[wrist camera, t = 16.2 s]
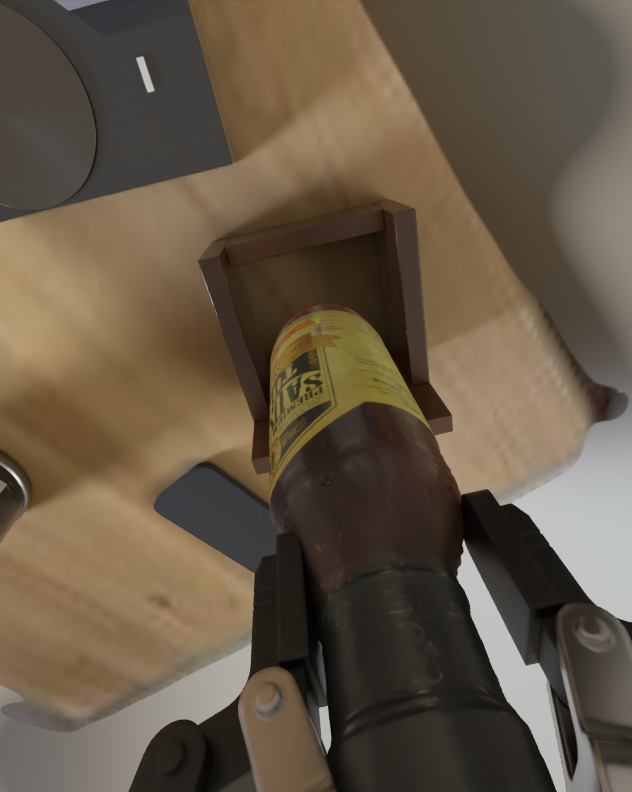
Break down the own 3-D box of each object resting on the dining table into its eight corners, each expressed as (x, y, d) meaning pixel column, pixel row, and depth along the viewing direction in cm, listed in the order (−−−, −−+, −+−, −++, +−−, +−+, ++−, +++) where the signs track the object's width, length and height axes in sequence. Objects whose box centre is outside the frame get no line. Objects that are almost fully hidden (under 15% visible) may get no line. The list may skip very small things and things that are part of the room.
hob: (20, 217, 26) (-10, 224, 23) (-139, -80, 19) (-207, -119, 17) (262, 157, 25) (261, 156, 23) (183, -169, 19) (168, -225, 16)
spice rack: (261, 393, 34) (256, 475, 25) (211, 241, 28) (183, 280, 19) (406, 360, 33) (453, 431, 24) (388, 198, 27) (441, 217, 18)
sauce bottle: (282, 287, 22) (328, 746, 5) (392, 312, 23) (751, 746, 6) (260, 394, 25) (236, 916, 8) (358, 410, 26) (530, 892, 9)
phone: (264, 580, 44) (147, 508, 37) (264, 573, 44) (149, 501, 38) (317, 545, 42) (204, 462, 35) (317, 538, 42) (205, 456, 36)
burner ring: (-25, 226, 23) (-27, 226, 23) (-145, 23, 19) (-149, 22, 19) (126, 188, 23) (125, 188, 23) (40, -26, 19) (37, -28, 18)
